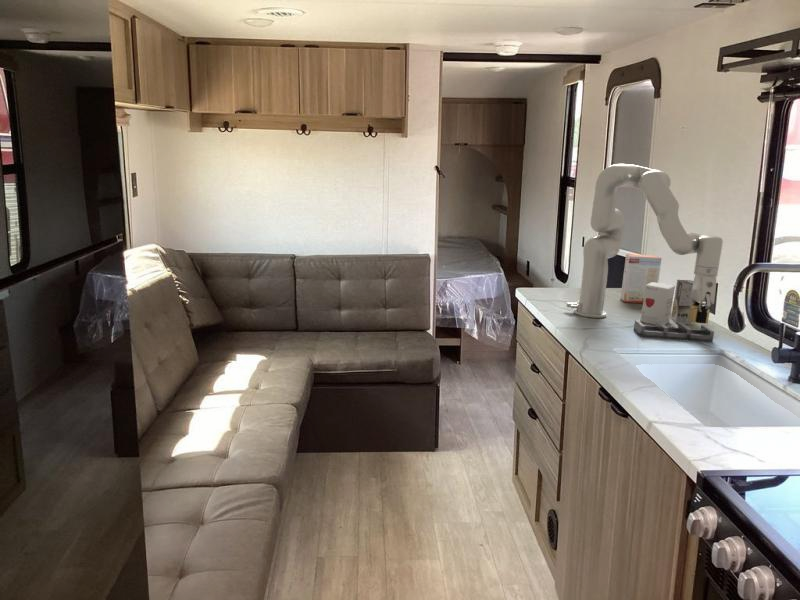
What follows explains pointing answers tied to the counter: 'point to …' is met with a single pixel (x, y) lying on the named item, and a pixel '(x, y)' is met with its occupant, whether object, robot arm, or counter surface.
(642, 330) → the grey compartment tray
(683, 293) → the coffee box
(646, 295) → the supplement box
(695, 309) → the cage nut
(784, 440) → the counter surface
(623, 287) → the cracker box
